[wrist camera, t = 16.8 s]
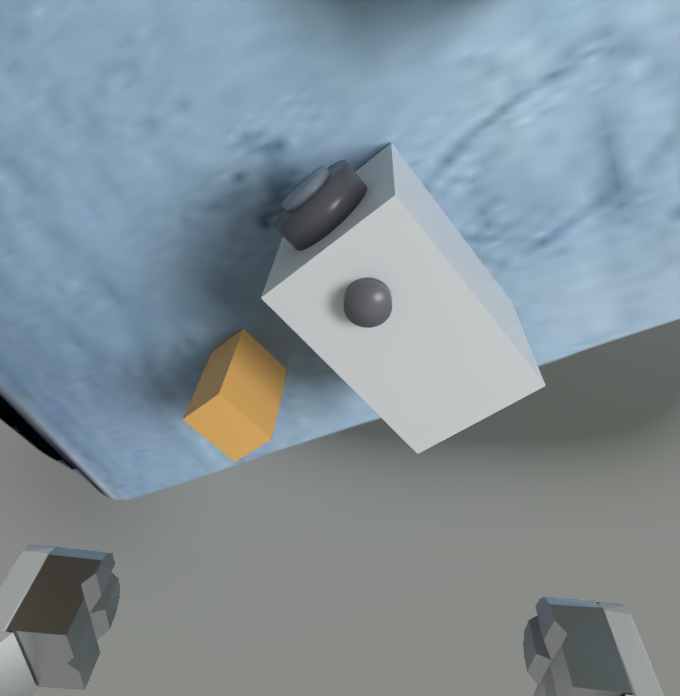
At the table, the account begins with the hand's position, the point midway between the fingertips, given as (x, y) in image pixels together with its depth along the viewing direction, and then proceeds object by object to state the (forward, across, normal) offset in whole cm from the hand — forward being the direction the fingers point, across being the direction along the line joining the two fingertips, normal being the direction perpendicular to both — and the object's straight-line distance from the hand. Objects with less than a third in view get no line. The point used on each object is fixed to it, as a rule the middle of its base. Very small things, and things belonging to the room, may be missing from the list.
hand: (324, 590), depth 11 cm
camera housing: (+34, +3, -8) cm, 35 cm away
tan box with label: (+34, -8, -20) cm, 40 cm away
